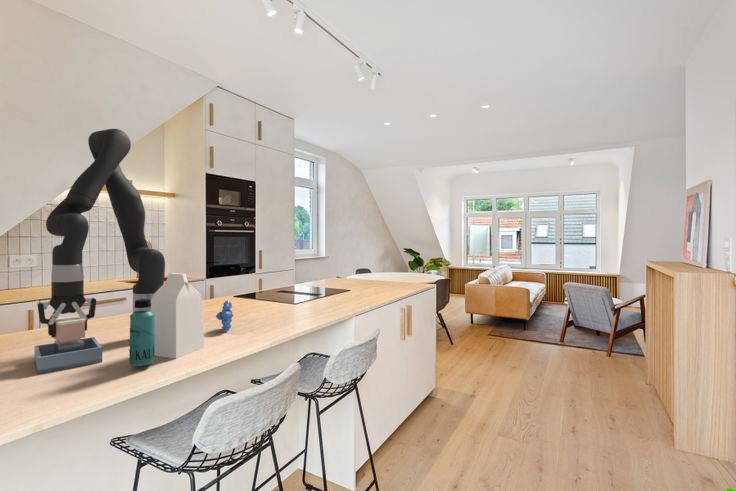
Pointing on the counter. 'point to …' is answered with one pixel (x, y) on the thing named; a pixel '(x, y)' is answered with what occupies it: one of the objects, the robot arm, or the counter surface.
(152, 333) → the beverage bottle
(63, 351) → the iron block
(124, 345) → the counter surface
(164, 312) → the milk
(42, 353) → the box
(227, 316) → the grapes
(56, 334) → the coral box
